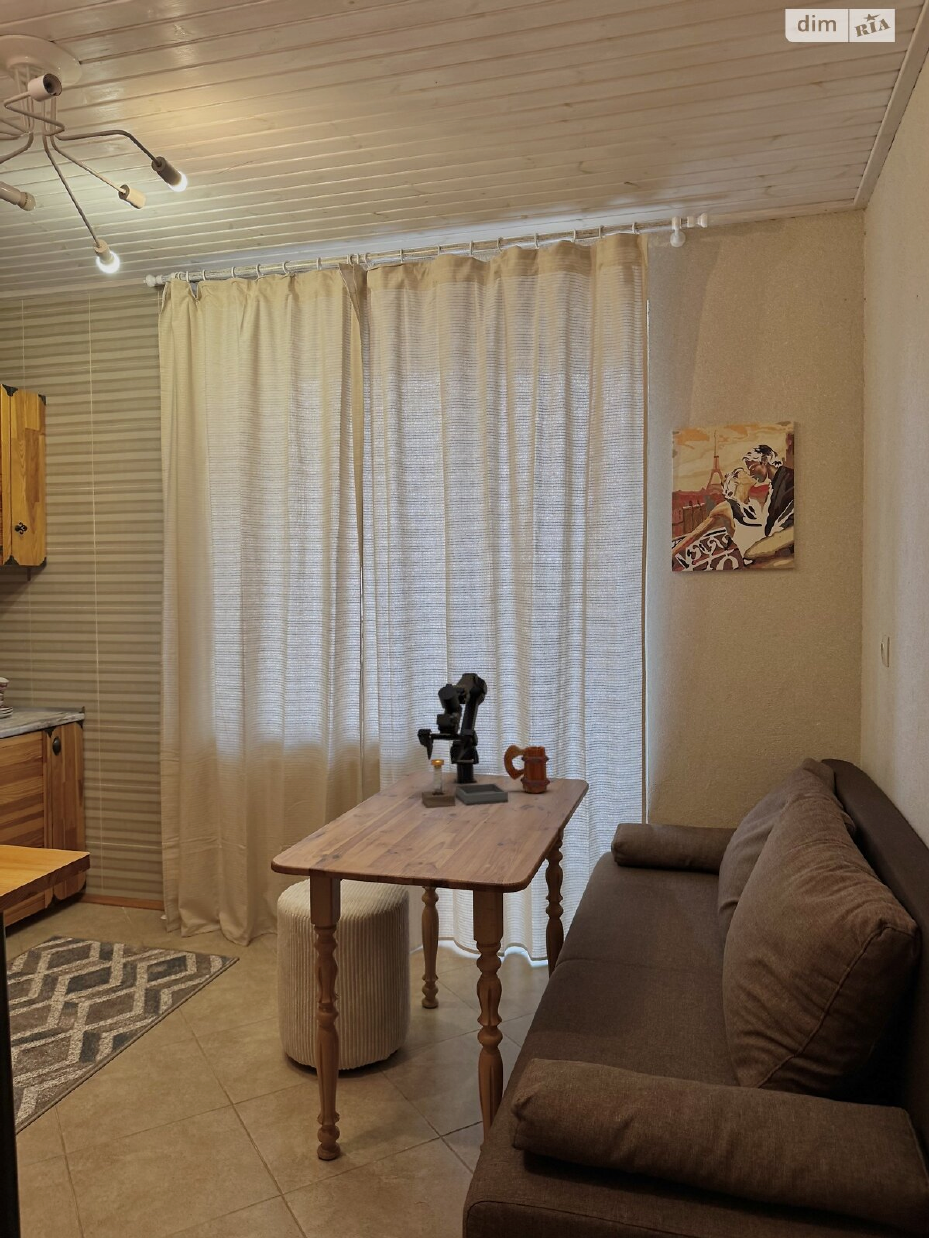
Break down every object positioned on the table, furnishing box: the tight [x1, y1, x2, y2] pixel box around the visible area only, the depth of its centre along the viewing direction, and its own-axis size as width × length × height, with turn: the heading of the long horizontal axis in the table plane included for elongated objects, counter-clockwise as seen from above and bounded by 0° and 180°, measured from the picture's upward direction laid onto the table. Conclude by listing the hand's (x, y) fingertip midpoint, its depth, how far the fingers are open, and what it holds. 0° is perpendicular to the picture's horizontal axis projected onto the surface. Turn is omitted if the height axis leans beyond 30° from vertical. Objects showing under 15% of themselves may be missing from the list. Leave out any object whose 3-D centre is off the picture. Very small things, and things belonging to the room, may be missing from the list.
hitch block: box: [421, 789, 456, 809], centre depth 277 cm, size 8×8×3 cm
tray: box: [455, 783, 509, 806], centre depth 282 cm, size 14×13×3 cm
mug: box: [503, 744, 551, 794], centre depth 290 cm, size 15×8×15 cm, turn 84°
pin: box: [430, 758, 445, 795], centre depth 276 cm, size 4×4×13 cm
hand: (443, 759), depth 282 cm, fingers open, 9 cm apart
